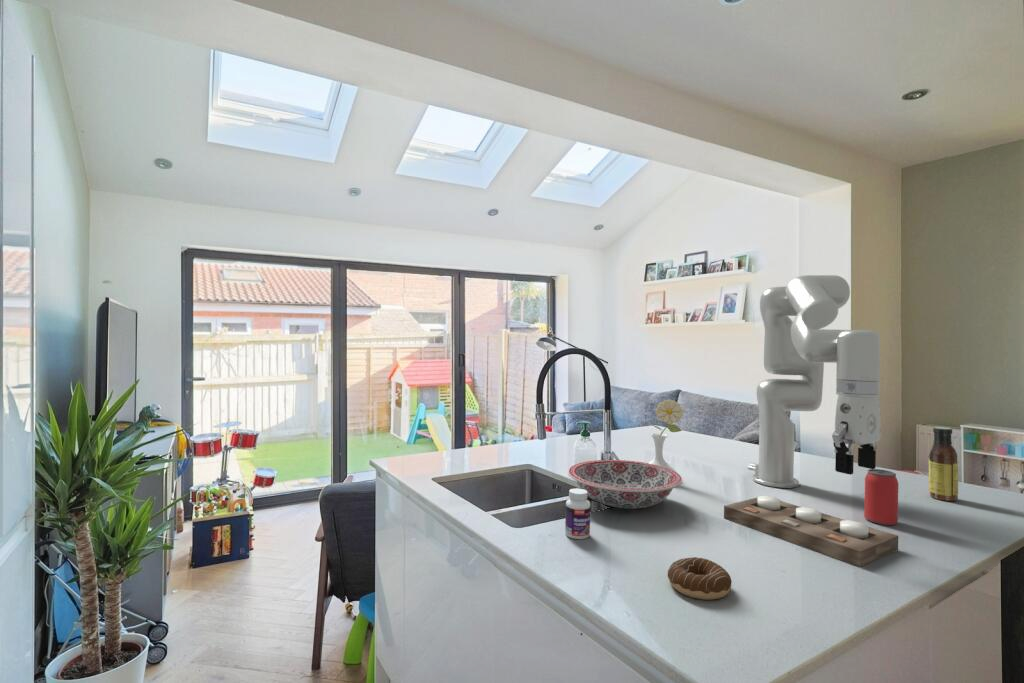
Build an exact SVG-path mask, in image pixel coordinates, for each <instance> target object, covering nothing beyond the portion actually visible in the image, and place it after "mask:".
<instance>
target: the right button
mask: <svg viewBox="0 0 1024 683" xmlns="http://www.w3.org/2000/svg"><path fill="white" fill-rule="evenodd" d="M869 527H870V526H868V525H867V524H865V523H863V522H860V521H855V520H848V519H847V520H846V519H844V520H843V521H840V533H842V534H844V535H847V536H850V537H854V538H859V539H866V538H868V529H869Z"/></svg>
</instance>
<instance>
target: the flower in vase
mask: <svg viewBox="0 0 1024 683" xmlns="http://www.w3.org/2000/svg"><path fill="white" fill-rule="evenodd" d="M684 412H685V411H684V410H683V407H682V405H681V404H680V403H679V402H678V401H676V400H674V399H673V400H671V399H670V398H669V399H667V400H666V399H664V400H663V401H661V402H659V403H658V405H656V409H655V415H656V417H657V419H658V421H660V422H662V423H664V424H665V423H666V426H665V427H664V428H663V429H662V428H661V427H659V426H657V425H655V424H653V423H652V422H651V423H650V424H651V425H652V426H653V427H654V428H656V429H658V430H660V431H661V433H660V432H658V433H657V432H654V433H651V434H650V436H651V437H652V439H653V443H654V457H653V458H652V460H650V461H649V462H648V463H649V464H654V465H658V466H662V467H665V468H668V469H670V470H673V471H675V472H676V473H678V472H677V471H676V470H675V469H674V467H672V466H671V464H669V463H668V462H667V461H666V460H665V459H664V454H663V448H664V445H665V444H664V443H665V441H666V438H667V437H668V434H666V433H664V432H665V430H666V429H668V430H669V432H671V433H679V432H682V429H681V428H680V427H679V426H678V425H677V424H675V423H678V422H680V421H681V420H682V418H683V415H684Z"/></svg>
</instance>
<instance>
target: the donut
mask: <svg viewBox="0 0 1024 683" xmlns="http://www.w3.org/2000/svg"><path fill="white" fill-rule="evenodd" d="M667 577H668V581H669V583H670V585H671V586H672V587H673V588H674V589H675V590H676V591H677V592H679V593H680V594H683V595H685V596H687V597H690V598H694V599H698V600H705V601H712V600H718V599H721V598H723V597H725V596H726V595H728V594H729V593H730V591H731V588H732V578H731V575H730V574H729V573H728V571H727V570H726V569H725V568H723V567H722V566H721V565H720V564H718V563H716V562H715V561H713V560H710V559H708V558H703V557H697V556H696V557H694V556H693V557H686V558H680V559H678V560H676V561H673V562H672V563H671V564H670V565H669V568H668V570H667Z"/></svg>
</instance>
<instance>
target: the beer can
mask: <svg viewBox="0 0 1024 683" xmlns="http://www.w3.org/2000/svg"><path fill="white" fill-rule="evenodd" d="M896 475H897V473H895V472H893V471H891V470H890V471H889V470H887V469H878V468H875V469H870V468H868V470H867V473H866V474H865V477H864V504H863V506H864V509H863V510H864V511H863V512H864V513H863V515H864V516H863V517H864V518H865V520H867V521H868V520H869V521H868V522H870V521H871V523H873V522H874V523H873V524H876V523H878V524H877V525H881V524H883V525H882V526H895V525H897V524H898V522H899V521H898V520H899V518H898V517H899V515H898V514H899V481H898V478H897V476H896Z"/></svg>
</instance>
